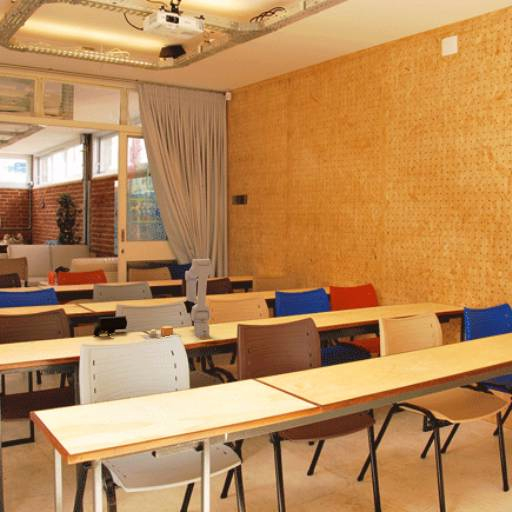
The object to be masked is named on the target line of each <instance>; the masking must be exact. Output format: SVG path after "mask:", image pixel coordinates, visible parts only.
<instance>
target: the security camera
mask: <svg viewBox="0 0 512 512" xmlns="http://www.w3.org/2000/svg"><path fill="white" fill-rule="evenodd" d="M127 327H128V319H127V317H126V316H125V315H119V316H118V315H117V316H106V317H98V319H97V327H96V328H95V329H94V330H93V334H92V335H93V336H95V337H100V336H101V335H100V334H105V333H106V335H107V336H109V337H110V336H111V334H116V331H117V330H118V331H119V330H127Z"/></svg>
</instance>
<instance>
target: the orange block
mask: <svg viewBox="0 0 512 512" xmlns="http://www.w3.org/2000/svg"><path fill="white" fill-rule="evenodd" d="M173 332H174V327H173V326H170V325H165V326H160V333H161V335H162V336H168V335H173Z"/></svg>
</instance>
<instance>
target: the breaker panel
mask: <svg viewBox="0 0 512 512" xmlns="http://www.w3.org/2000/svg"><path fill="white" fill-rule="evenodd" d="M173 335H179V336H178V337H181V335H180V334H177V333H176V332H174V331H173ZM139 336H140V337H141V338H143V339H145V340H153V339H155V340H156V339H162V338H161V337H165V336H162V335H161V332H159V333H157V332H156V334H151V333H150V332H149V333H148V334H141V335H140V334H139ZM168 336H170V335H168Z"/></svg>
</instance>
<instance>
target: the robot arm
mask: <svg viewBox="0 0 512 512" xmlns="http://www.w3.org/2000/svg"><path fill="white" fill-rule="evenodd" d="M211 273H212V261H211V259H210V258H201V259H200V258H196V259H195V258H193V259H192V261H191V267H190V268H189V269H188V270H186V271H185V273H184V279H185V281H186V284H185V285H186V286H185V287H186V290H185V293H186V297H185V298H184V301H183V304H184V306H185V309H186V314H190V318H191V320H192V322H193V333H194V334H193V335H194V336H195V337H199V338H203V337H204V338H205V337H210V325H209V324H208V321H210V318H211V308H210V307H209V305H208V304H206V298H207V285H208V278H209V276H210V275H211Z"/></svg>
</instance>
